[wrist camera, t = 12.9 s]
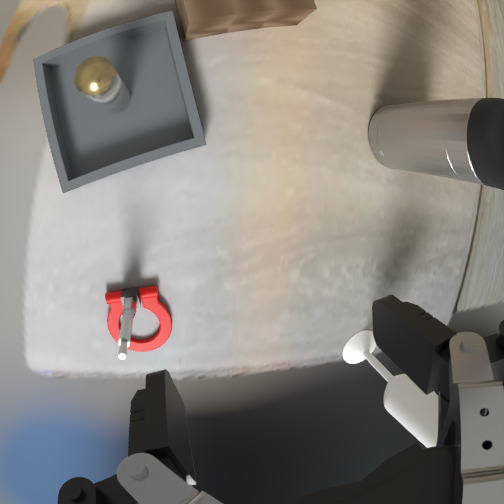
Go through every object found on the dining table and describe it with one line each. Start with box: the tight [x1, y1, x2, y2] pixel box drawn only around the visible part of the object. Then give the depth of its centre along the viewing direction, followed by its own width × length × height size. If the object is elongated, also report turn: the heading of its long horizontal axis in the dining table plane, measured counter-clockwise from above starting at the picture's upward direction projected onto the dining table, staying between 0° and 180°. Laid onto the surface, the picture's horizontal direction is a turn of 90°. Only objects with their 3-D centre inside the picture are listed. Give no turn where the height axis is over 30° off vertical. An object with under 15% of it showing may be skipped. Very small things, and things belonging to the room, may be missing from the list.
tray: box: [33, 11, 206, 193], centre depth 29 cm, size 16×16×4 cm
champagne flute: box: [343, 330, 438, 448], centre depth 39 cm, size 7×7×24 cm
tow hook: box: [105, 286, 172, 359], centre depth 34 cm, size 8×13×9 cm
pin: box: [74, 56, 131, 113], centre depth 25 cm, size 3×3×12 cm
